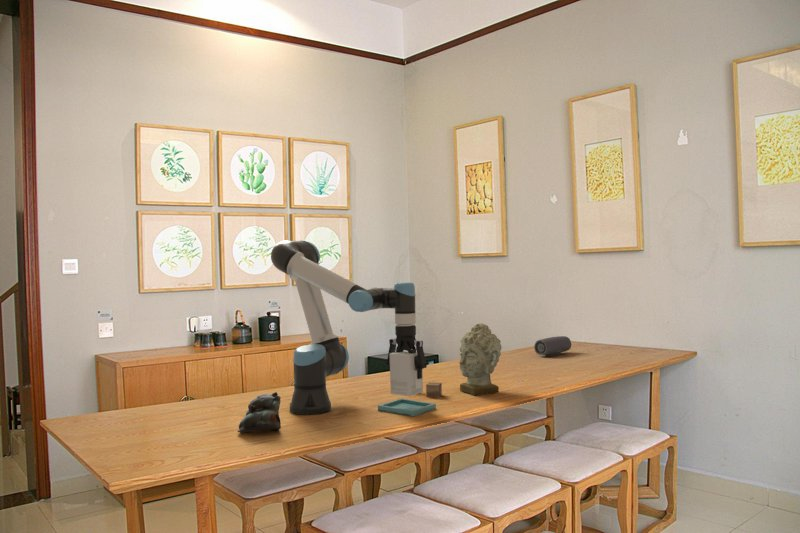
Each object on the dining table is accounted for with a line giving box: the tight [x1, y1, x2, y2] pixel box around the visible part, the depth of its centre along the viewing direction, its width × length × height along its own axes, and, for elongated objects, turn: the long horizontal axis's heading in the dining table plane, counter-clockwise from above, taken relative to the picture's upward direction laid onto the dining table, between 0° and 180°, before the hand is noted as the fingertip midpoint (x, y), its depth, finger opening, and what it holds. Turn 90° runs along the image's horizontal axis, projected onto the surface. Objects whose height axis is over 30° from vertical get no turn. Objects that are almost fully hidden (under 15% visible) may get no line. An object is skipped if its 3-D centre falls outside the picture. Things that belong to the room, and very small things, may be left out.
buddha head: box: [459, 323, 502, 397], centre depth 266 cm, size 17×19×28 cm
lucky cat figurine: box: [237, 391, 282, 434], centre depth 212 cm, size 15×12×14 cm
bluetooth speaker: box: [534, 335, 572, 357], centre depth 359 cm, size 23×9×10 cm, turn 130°
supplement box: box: [389, 350, 424, 397], centre depth 237 cm, size 9×9×15 cm
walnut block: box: [425, 381, 443, 399], centre depth 260 cm, size 5×5×5 cm
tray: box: [377, 398, 437, 417], centre depth 237 cm, size 14×16×2 cm
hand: (406, 386), depth 237 cm, fingers closed on supplement box, 9 cm apart
